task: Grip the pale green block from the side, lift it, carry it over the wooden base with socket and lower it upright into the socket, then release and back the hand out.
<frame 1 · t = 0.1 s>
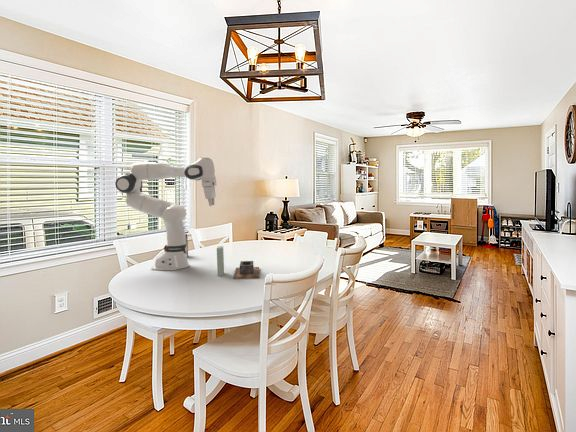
hand: (212, 205, 210), 39 cm above the table, tool pointing down, fingers open, 8 cm apart
wooden base with socket: (246, 273, 194), on the table
pale green block: (220, 274, 193), on the table
coffee box: (180, 256, 242), on the table
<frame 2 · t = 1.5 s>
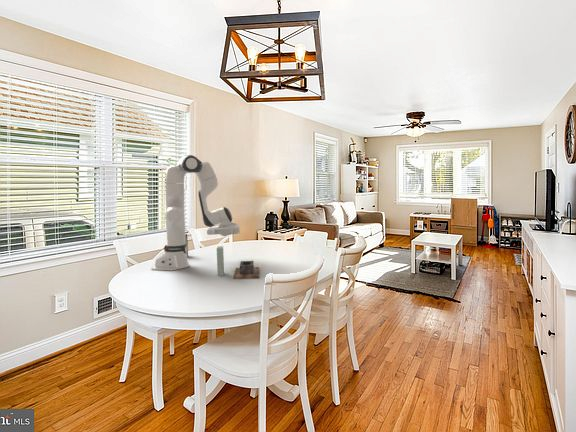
hand: (222, 232, 202), 23 cm above the table, tool horizontal, fingers open, 8 cm apart
nothing on the table moved.
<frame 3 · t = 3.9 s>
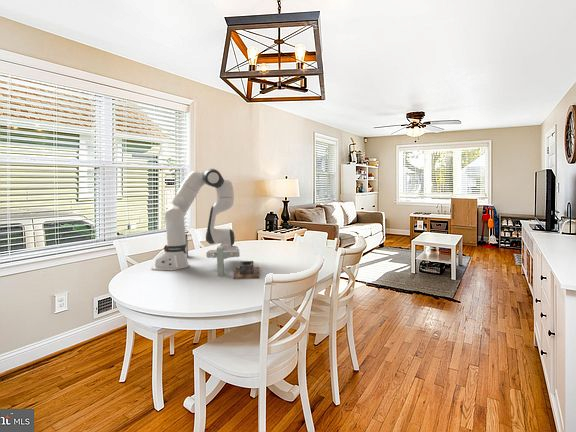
hand: (222, 256, 199), 9 cm above the table, tool horizontal, fingers open, 8 cm apart
nothing on the table moved.
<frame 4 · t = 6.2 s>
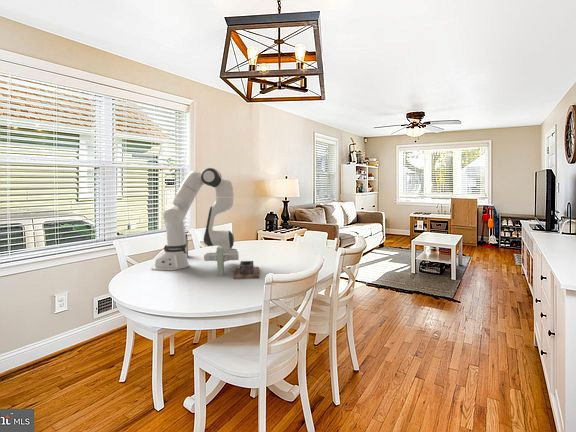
hand: (220, 259, 191), 9 cm above the table, tool horizontal, fingers closed on pale green block, 3 cm apart
pale green block: (220, 274, 193), on the table, touching gripper
everything else where it was.
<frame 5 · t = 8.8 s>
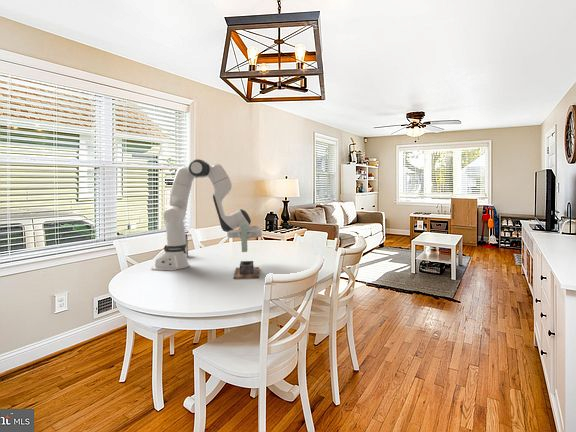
hand: (244, 235, 191), 23 cm above the table, tool horizontal, fingers closed on pale green block, 3 cm apart
pale green block: (244, 250, 193), point 13 cm above the table, touching gripper
everything else where it was.
when the fingers open (11 cm above the table, at t = 11.8 s): pale green block drops 1 cm, resting on wooden base with socket.
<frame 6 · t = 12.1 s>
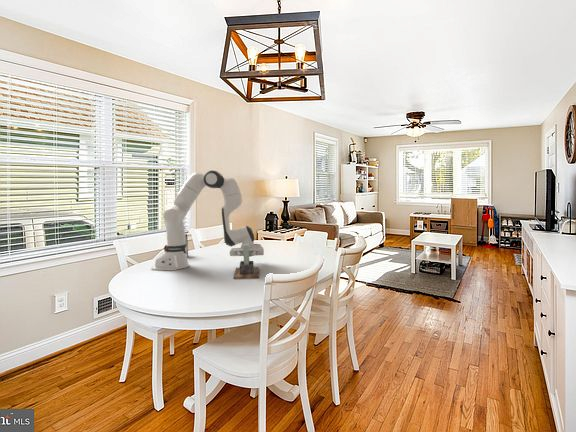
hand: (246, 254, 192), 11 cm above the table, tool horizontal, fingers open, 6 cm apart
pale green block: (246, 271, 194), point 1 cm above the table, touching wooden base with socket
everything else where it was.
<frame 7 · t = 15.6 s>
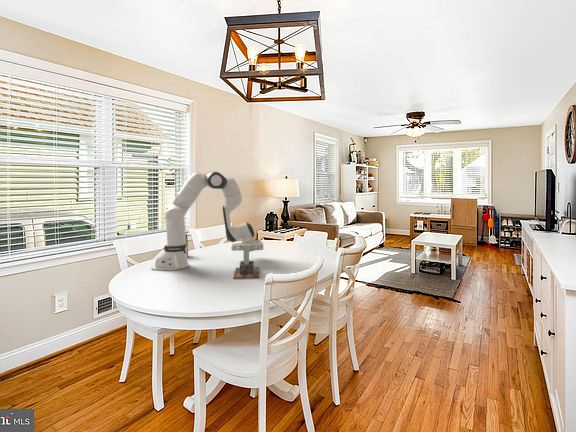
hand: (247, 249, 205), 12 cm above the table, tool horizontal, fingers open, 8 cm apart
nothing on the table moved.
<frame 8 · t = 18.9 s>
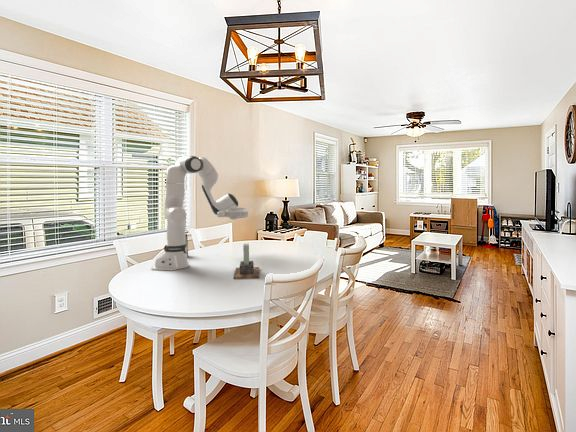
hand: (231, 215, 216), 32 cm above the table, tool horizontal, fingers open, 8 cm apart
nothing on the table moved.
at the end: pale green block 0.0 cm off-centre on the wooden base with socket, point 1.2 cm above the wooden base with socket's base; pale green block tilted 0°; the gripper is holding nothing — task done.
